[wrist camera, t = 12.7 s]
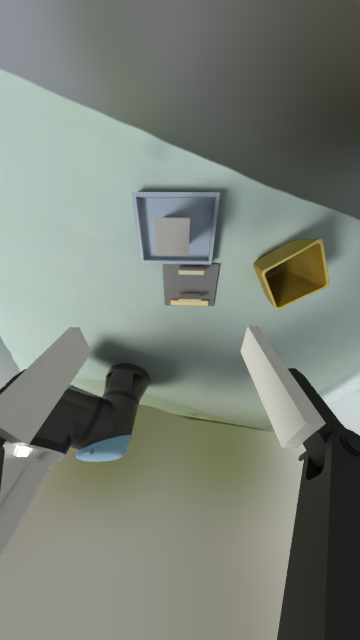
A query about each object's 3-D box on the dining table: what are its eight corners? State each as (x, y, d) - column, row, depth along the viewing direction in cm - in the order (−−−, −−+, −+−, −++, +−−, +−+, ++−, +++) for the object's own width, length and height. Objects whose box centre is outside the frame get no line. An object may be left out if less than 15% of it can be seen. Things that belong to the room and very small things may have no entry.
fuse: (164, 244, 30) (157, 255, 22) (163, 216, 27) (154, 218, 19) (187, 244, 30) (188, 256, 22) (188, 217, 27) (190, 218, 19)
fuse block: (165, 304, 38) (163, 311, 35) (162, 263, 33) (160, 267, 30) (212, 304, 38) (215, 312, 35) (218, 263, 32) (222, 268, 29)
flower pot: (288, 231, 29) (324, 237, 21) (297, 269, 33) (330, 286, 25) (243, 258, 32) (260, 272, 24) (257, 291, 36) (275, 311, 28)
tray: (144, 260, 32) (141, 263, 30) (135, 193, 26) (131, 191, 24) (209, 261, 32) (211, 264, 30) (217, 194, 26) (220, 192, 24)
